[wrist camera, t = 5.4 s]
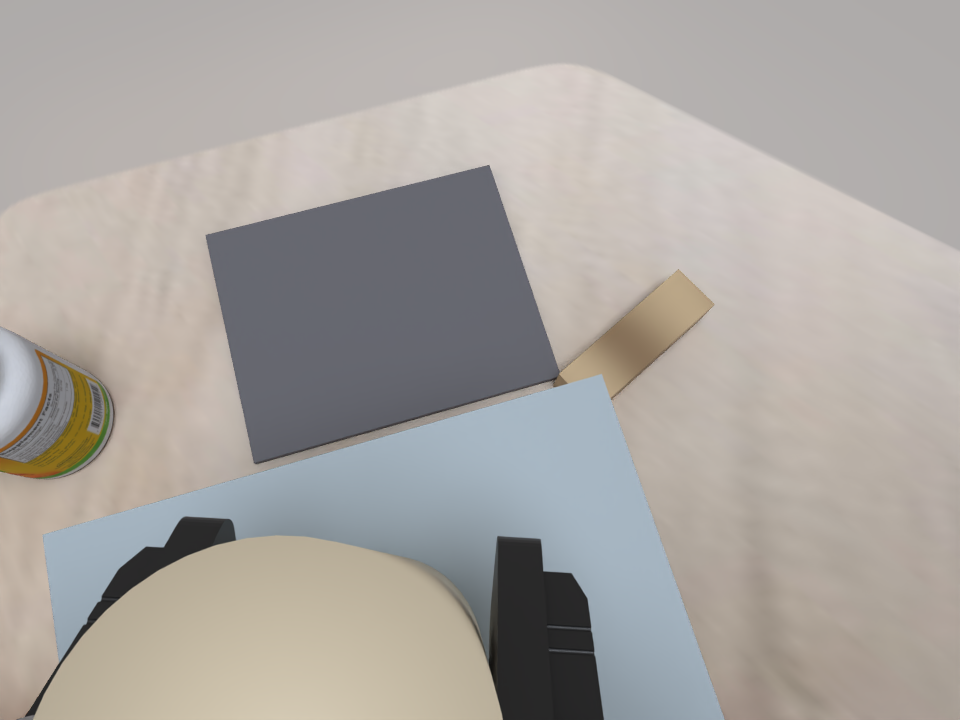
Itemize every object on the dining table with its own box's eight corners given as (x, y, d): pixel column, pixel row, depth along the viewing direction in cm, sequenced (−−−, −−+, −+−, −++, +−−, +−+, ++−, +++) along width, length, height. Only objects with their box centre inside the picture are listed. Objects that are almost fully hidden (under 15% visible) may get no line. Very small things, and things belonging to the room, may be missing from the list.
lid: (594, 383, 19) (760, 147, 8) (733, 778, 16) (1220, 1155, 6) (65, 536, 18) (-537, 485, 7) (128, 992, 15) (-659, 1985, 4)
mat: (488, 169, 39) (489, 164, 38) (559, 378, 36) (560, 375, 35) (208, 238, 37) (205, 235, 37) (256, 464, 34) (254, 462, 34)
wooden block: (664, 287, 37) (678, 269, 35) (698, 321, 37) (714, 304, 35) (552, 386, 36) (558, 374, 33) (586, 422, 35) (594, 412, 33)
